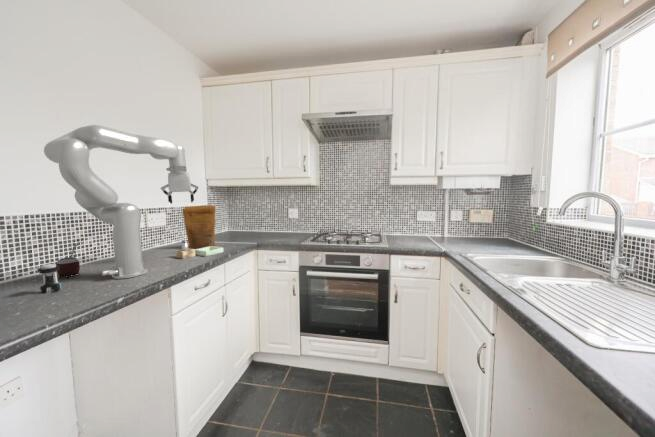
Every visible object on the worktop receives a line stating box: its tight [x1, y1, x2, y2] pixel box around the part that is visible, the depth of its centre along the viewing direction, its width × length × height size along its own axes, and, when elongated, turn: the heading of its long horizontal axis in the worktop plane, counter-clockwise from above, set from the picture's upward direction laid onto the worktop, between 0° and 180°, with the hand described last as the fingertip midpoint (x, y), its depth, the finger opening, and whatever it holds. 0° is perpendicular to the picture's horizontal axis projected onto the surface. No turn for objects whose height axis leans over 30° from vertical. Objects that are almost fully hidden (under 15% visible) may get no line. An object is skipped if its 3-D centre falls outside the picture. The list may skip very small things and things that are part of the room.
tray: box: [195, 246, 225, 258], centre depth 151 cm, size 12×12×3 cm
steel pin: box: [180, 239, 189, 251], centre depth 143 cm, size 3×3×9 cm
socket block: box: [175, 247, 196, 260], centre depth 143 cm, size 7×7×4 cm
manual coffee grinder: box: [56, 242, 81, 279], centre depth 111 cm, size 8×8×15 cm
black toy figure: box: [35, 263, 62, 294], centre depth 93 cm, size 7×5×10 cm
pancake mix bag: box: [182, 205, 217, 249], centre depth 166 cm, size 7×19×28 cm, turn 109°
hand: (181, 202), depth 135 cm, fingers open, 9 cm apart
